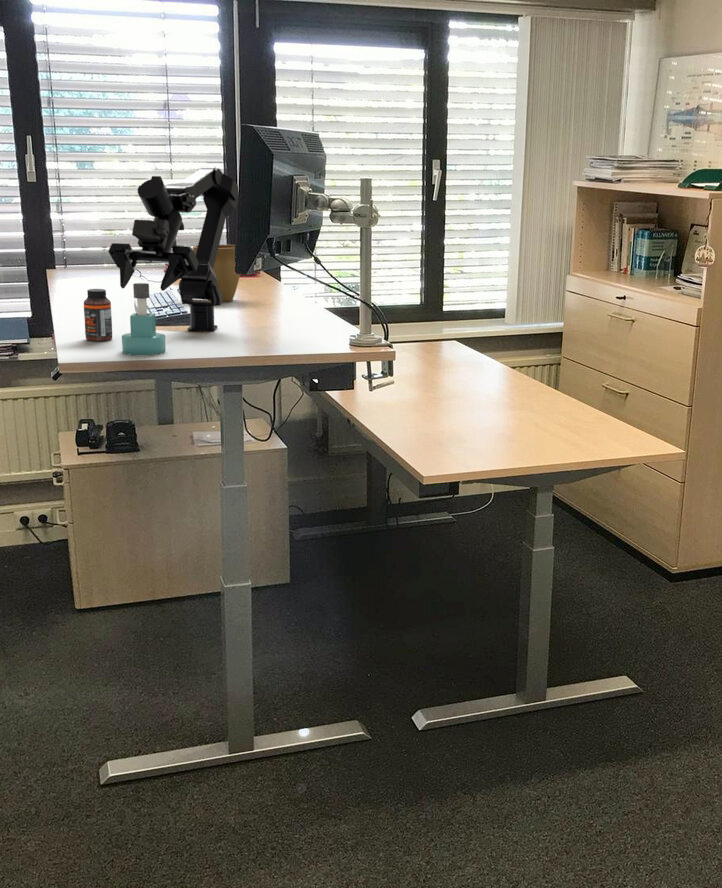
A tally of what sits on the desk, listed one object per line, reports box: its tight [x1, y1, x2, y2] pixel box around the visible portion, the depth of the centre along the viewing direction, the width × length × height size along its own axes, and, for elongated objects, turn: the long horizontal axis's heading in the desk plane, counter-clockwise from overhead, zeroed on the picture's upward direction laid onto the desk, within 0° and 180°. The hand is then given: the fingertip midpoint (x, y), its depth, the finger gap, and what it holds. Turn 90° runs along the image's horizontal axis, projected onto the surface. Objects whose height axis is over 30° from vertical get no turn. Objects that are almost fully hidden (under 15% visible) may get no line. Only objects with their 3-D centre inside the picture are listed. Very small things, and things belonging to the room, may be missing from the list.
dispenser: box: [121, 312, 167, 356], centre depth 196 cm, size 9×9×8 cm
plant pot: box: [192, 244, 241, 303], centre depth 273 cm, size 15×15×16 cm
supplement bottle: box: [83, 288, 113, 342], centre depth 208 cm, size 6×6×11 cm
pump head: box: [132, 282, 150, 316], centre depth 194 cm, size 3×3×8 cm
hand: (141, 288), depth 194 cm, fingers open, 9 cm apart
